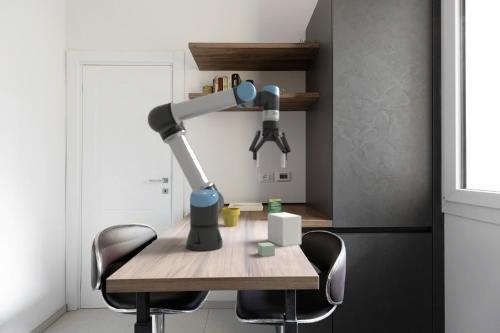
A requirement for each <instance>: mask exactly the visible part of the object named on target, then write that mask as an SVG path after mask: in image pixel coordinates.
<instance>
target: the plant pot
mask: <svg viewBox="0 0 500 333" xmlns="http://www.w3.org/2000/svg"><path fill="white" fill-rule="evenodd" d="M221 215H222V217H223V218H222V219H223V222H224V226H225V227H226V226H227V228H228V227H229V228H232V227H233V228H234V227H237V226H238V222H239V221H238V220H239V216H240V215H241V208H239V207H234V206H233V207H231V206H230V207H229V206H228V207H223V209H222V211H221Z"/></svg>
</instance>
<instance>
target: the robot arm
mask: <svg viewBox="0 0 500 333" xmlns="http://www.w3.org/2000/svg"><path fill="white" fill-rule="evenodd" d="M232 107H237V108H239V109H240V108H241V109H246V108H247V109H250V108H251V109H257V108H260V109H261V108H262V121H261V122H262V125H261V126H262V128H261V129H262V130H256V131H255V135H254V138H253V140H252V142H251V144H250V147H249V148H248V150H249V152H251V153H252V159H253V161H254V168H259V163H260V162H259V161H260V160H259V158H260V157H259V156H260V153H259V152H258V151H259V150H260V149H261V148H262V147H263V146H264V144H265V143H266V142H274V143H275V144H276V146H277V147H278V149H279V150H280V152H282V153H281V154H280V168H284V169H285V168H286V161H288V160H287V159H288V154H289V153H291V147H290V144H289V143H288V140H287V138H286V132H285V131H281V132H279V129H280V122H279V120H280V88H279V87H278V86H277V85H265V86H263V87H262V90H256V88H255V86H254V84H253V83H252V82H250V81H243V82H241V83H239V84H238V85H237V86H234V87H230V88H227V89H224V90H220V91H217V92H213V93H208V94H206V95H202V96H199V97H195V98H192V99H188V100H185V101H181V102H177V103H175V102H173V101H172V102H167V103H165V104H161V105H157V106H154V107H153V108H152V109H151V110H150V111H149V113H148V115H147V124H148V126H149V128H150V129H151V130H152V131H153V132H155V133H159V136H160V138H161V140H162V141H163V143H164V144H166V145H168V147H169V148H170V150H171V152H172V154H173V156H174V157H175V160H176V161H177V162H178V165H179V167H180V169H181V170H182V172H183V175H184V177H185V178H186V181H187V182H188V184H189V186H190V188H191V189H192V192H191V193H190V197H189V216H190V217H189V220H190V221H189V222H190V223H189V225H190V226H189V227H190V228H189V232H188V234H187V238H186V242H185V248H186V249H187V250H190V251H198V252H205V251H209V252H210V251H213V250H219V249H221V248H223V241H224V240H223V237H222V236H221V232H220V229H219V214H220V213H222V209H223V208H225V207H224V206H225V199H224V196H223V194H222V193H221V192H220V191H219V190H218V189H217V187H216V184H215V183H214V182H212V181H210V180H209V179H208V176H207V175H206V173H205V171H204V168H203V167H202V165H201V163H200V161H199V160H198V158H197V155H196V154H195V152H194V150H193V148H192V146H191V144H190V142H189V140H188V138H187V136H186V135H187V132H188V131H187V130H186V128H185V126H184V121H187V120H190V119H194V118H198V117H201V116H205V115H208V114H211V113H215V112H218V111H223V110H225V109H230V108H232ZM261 136H262V138H261V139H260V137H261ZM259 139H260V141H259Z"/></svg>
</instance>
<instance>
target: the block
mask: <svg viewBox="0 0 500 333" xmlns="http://www.w3.org/2000/svg"><path fill="white" fill-rule="evenodd" d="M275 245H276V244H274V243H273V242H272V243H271V241H269V242H259V243H257V254H258V255H260V257H264V258H265V257H273V256H274V257H275V255H276V246H275Z"/></svg>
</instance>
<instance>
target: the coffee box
mask: <svg viewBox="0 0 500 333" xmlns="http://www.w3.org/2000/svg"><path fill="white" fill-rule="evenodd" d="M267 212H268V213H267V215H268V214H270V213H282V199H281V198H269V199H267Z"/></svg>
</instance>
